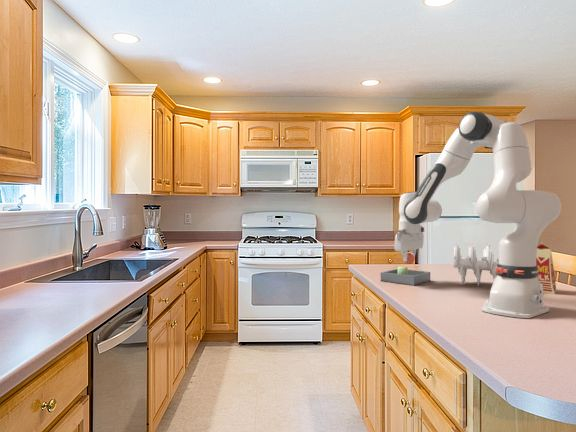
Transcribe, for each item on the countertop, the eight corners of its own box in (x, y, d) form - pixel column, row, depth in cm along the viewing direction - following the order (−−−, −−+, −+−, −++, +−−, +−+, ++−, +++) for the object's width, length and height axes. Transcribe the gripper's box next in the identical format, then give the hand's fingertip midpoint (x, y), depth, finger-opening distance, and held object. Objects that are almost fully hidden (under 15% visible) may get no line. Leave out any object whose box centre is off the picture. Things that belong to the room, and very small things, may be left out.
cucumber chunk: (404, 280, 186) (404, 268, 186) (395, 278, 189) (395, 267, 189) (409, 278, 189) (409, 267, 189) (400, 277, 192) (400, 266, 192)
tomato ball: (401, 264, 183) (401, 253, 183) (406, 262, 186) (406, 252, 186) (411, 265, 180) (411, 254, 179) (416, 263, 183) (416, 253, 183)
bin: (414, 285, 176) (414, 276, 176) (380, 281, 187) (380, 272, 187) (430, 280, 187) (430, 271, 187) (398, 276, 198) (398, 268, 198)
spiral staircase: (518, 299, 168) (452, 292, 177) (512, 274, 183) (452, 268, 191) (525, 261, 160) (455, 255, 168) (518, 238, 175) (455, 234, 183)
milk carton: (554, 294, 159) (555, 242, 158) (526, 291, 165) (527, 240, 164) (556, 290, 166) (557, 240, 166) (530, 287, 172) (530, 239, 171)
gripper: (404, 230, 173) (404, 263, 173) (426, 228, 188) (425, 258, 188) (390, 229, 177) (390, 262, 178) (413, 227, 192) (412, 257, 192)
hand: (408, 260), depth 183 cm, fingers closed on tomato ball, 5 cm apart
